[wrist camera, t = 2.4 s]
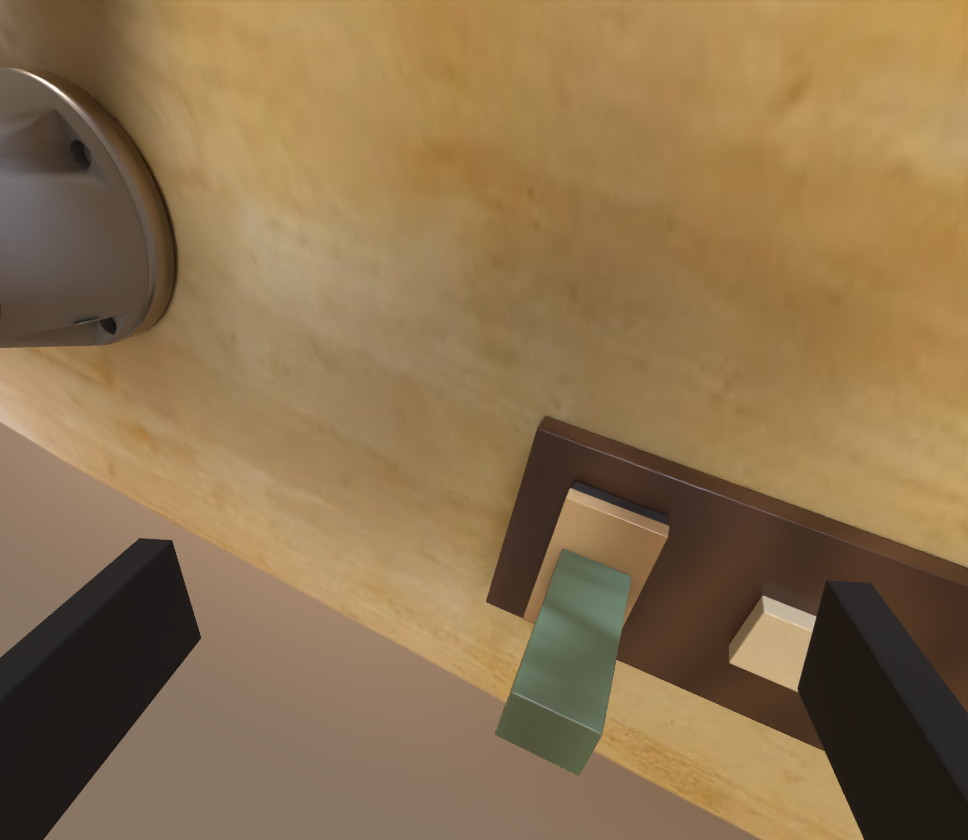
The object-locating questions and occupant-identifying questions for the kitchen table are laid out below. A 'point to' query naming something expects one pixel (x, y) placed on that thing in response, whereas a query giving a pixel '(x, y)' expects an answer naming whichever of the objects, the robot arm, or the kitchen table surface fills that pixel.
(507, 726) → the green block on base
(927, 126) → the kitchen table surface
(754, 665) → the cream square tile
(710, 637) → the walnut board
